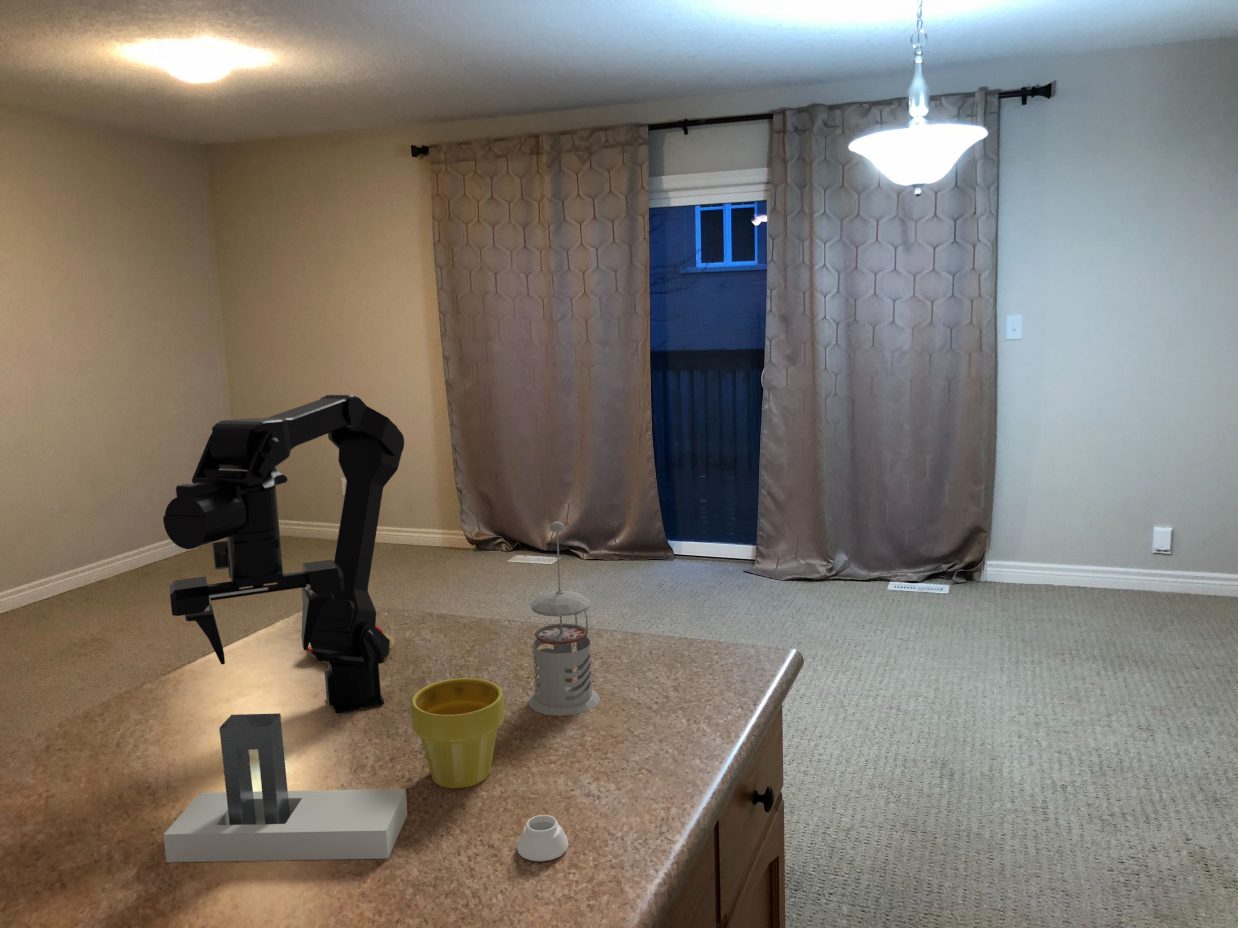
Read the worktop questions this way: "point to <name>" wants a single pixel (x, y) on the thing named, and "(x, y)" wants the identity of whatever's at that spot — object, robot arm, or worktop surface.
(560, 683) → the french press
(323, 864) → the worktop surface
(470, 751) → the plant pot
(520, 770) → the worktop surface
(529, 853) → the white jar
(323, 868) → the worktop surface
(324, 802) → the white slotted block
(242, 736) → the clip
